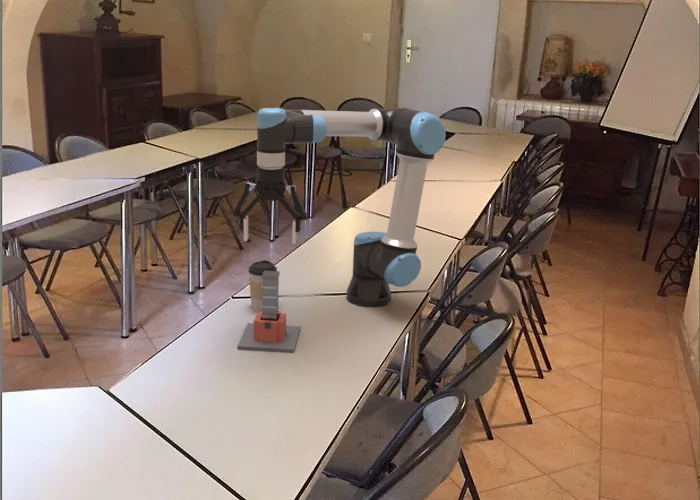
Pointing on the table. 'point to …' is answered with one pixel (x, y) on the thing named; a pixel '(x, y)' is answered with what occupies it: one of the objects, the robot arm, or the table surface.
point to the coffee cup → (258, 282)
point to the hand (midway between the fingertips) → (270, 241)
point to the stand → (269, 335)
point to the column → (270, 295)
